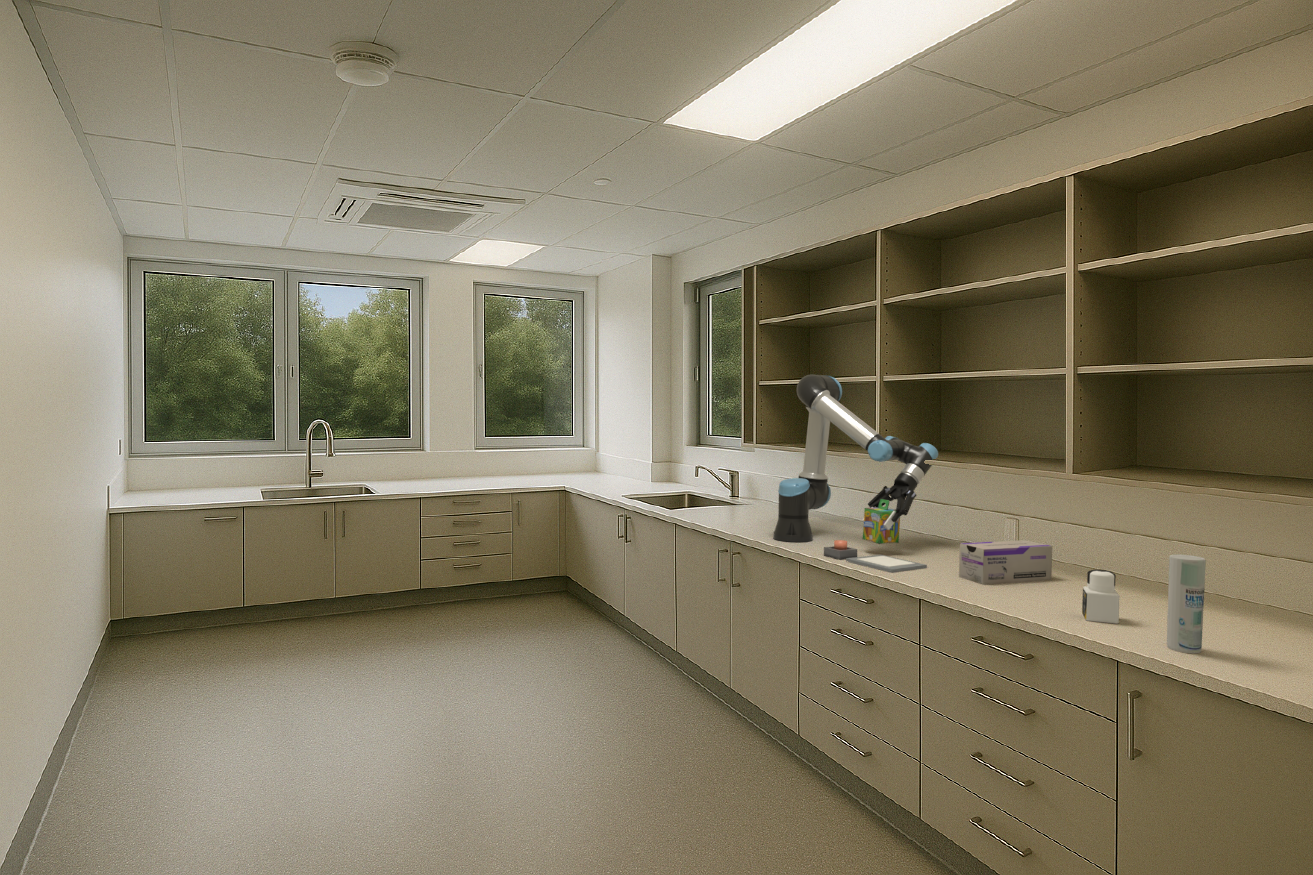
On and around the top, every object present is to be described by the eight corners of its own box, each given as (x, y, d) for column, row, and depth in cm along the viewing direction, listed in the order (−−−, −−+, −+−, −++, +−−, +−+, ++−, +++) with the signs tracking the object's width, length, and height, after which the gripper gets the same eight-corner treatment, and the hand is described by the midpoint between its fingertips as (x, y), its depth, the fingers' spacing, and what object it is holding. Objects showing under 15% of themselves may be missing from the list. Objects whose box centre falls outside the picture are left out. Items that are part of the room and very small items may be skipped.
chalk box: (861, 539, 279) (863, 498, 278) (882, 538, 283) (883, 497, 282) (879, 544, 271) (881, 501, 270) (900, 542, 274) (901, 501, 274)
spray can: (1182, 654, 165) (1185, 560, 164) (1158, 644, 172) (1162, 554, 171) (1209, 653, 166) (1213, 559, 165) (1185, 643, 172) (1188, 554, 172)
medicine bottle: (1081, 613, 197) (1083, 566, 197) (1114, 617, 195) (1115, 569, 194) (1085, 620, 191) (1086, 572, 190) (1118, 624, 188) (1120, 574, 188)
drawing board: (846, 561, 262) (846, 557, 262) (880, 557, 270) (880, 553, 270) (891, 572, 245) (891, 568, 245) (926, 567, 253) (926, 564, 253)
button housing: (823, 555, 272) (823, 547, 271) (840, 553, 276) (841, 545, 275) (839, 559, 265) (840, 550, 264) (857, 557, 269) (857, 549, 268)
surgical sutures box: (1024, 573, 247) (1025, 540, 247) (1051, 580, 237) (1052, 545, 236) (958, 577, 240) (959, 543, 239) (983, 585, 229) (984, 549, 229)
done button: (831, 549, 271) (831, 540, 271) (840, 548, 273) (841, 539, 273) (840, 551, 267) (840, 542, 267) (849, 550, 269) (850, 541, 269)
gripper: (938, 489, 274) (904, 537, 267) (890, 482, 293) (857, 527, 286) (928, 475, 271) (894, 522, 264) (880, 469, 290) (847, 513, 283)
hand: (875, 525), depth 275 cm, fingers closed on chalk box, 10 cm apart
